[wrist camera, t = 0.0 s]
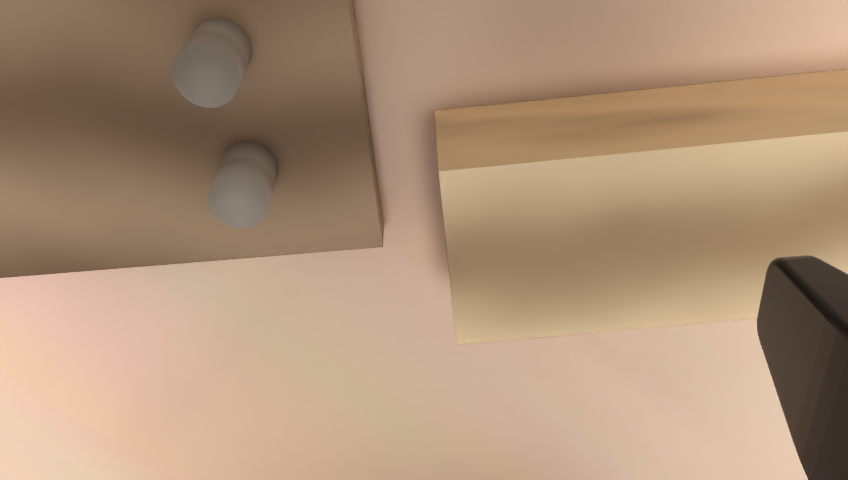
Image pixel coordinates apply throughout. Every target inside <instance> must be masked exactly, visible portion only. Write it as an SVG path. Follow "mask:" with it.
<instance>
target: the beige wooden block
mask: <svg viewBox="0 0 848 480" xmlns="http://www.w3.org/2000/svg"><path fill="white" fill-rule="evenodd" d="M434 112H435V127H436V142H437V157H438V172H439V181H440V191H441V200H442V210H443V219H444V229H445V238H446V248H447V257H448V267H449V276H450V286H451V295H452V305H453V314H454V324H455V333H456V343H457V345H462V344H473V343H484V342H495V341H507V340H518V339H529V338H541V337H552V336H563V335H574V334H586V333H597V332H608V331H619V330H631V329H642V328H653V327H664V326H676V325H687V324H698V323H709V322H721V321H732V320H743V319H755V318H757V316H758V311H759V306H760V301H761V296H762V291H763V286H764V281H765V277H766V272H767V268H768V266H769V264H770V262H771V261H773V260H774V259H776V258H778V257H791V256H803V255H810V256H814V257H817V258H819V259H821V260H823V261H824V262H826V263H828V264H830V265H832V266H834V267H836V268H838V269H839V270H841V271H843V272H845V273H847V274H848V69H841V70H831V71H821V72H811V73H801V74H791V75H781V76H772V77H762V78H752V79H742V80H732V81H722V82H712V83H703V84H693V85H683V86H673V87H663V88H653V89H644V90H634V91H624V92H614V93H604V94H594V95H584V96H575V97H565V98H555V99H545V100H535V101H525V102H515V103H506V104H496V105H486V106H476V107H466V108H456V109H446V110H437V111H434Z"/></svg>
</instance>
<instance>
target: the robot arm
mask: <svg viewBox="0 0 848 480" xmlns="http://www.w3.org/2000/svg"><path fill="white" fill-rule="evenodd" d="M757 331H758V336H759V340H760V343H761V346H762V349H763V352H764V355H765V358H766V361H767V364H768V367H769V370H770V373H771V376H772V379H773V382H774V385H775V388H776V391H777V394H778V397H779V400H780V403H781V406H782V409H783V412H784V415H785V418H786V421H787V424H788V427H789V430H790V433H791V436H792V439H793V442H794V445H795V448H796V451H797V453H798V456H799V459H800V461H801V464H802V466H803V468H804V471H805V473H806V475H807V477H808V480H848V274H847V273H845V272H843V271H841V270H839V269H838V268H836V267H834V266H832V265H830V264H828V263H826V262H824V261H823V260H821V259H819V258H817V257H814V256H810V255H803V256H791V257H778V258H776V259H774V260H773V261H771V262H770V264H769V266H768V268H767V272H766V277H765V281H764V286H763V291H762V296H761V301H760V306H759V311H758V316H757Z"/></svg>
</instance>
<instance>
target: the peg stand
mask: <svg viewBox="0 0 848 480" xmlns="http://www.w3.org/2000/svg"><path fill="white" fill-rule="evenodd" d="M383 233H384V223H383V216H382V209H381V202H380V194H379V187H378V180H377V173H376V166H375V158H374V151H373V144H372V137H371V129H370V122H369V115H368V108H367V101H366V93H365V86H364V79H363V72H362V64H361V57H360V50H359V43H358V35H357V28H356V21H355V14H354V7H353V0H0V278H5V277H18V276H30V275H42V274H55V273H67V272H79V271H92V270H104V269H116V268H129V267H141V266H153V265H166V264H178V263H190V262H203V261H215V260H227V259H240V258H252V257H264V256H277V255H289V254H301V253H314V252H326V251H338V250H351V249H363V248H375V247H383Z"/></svg>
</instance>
